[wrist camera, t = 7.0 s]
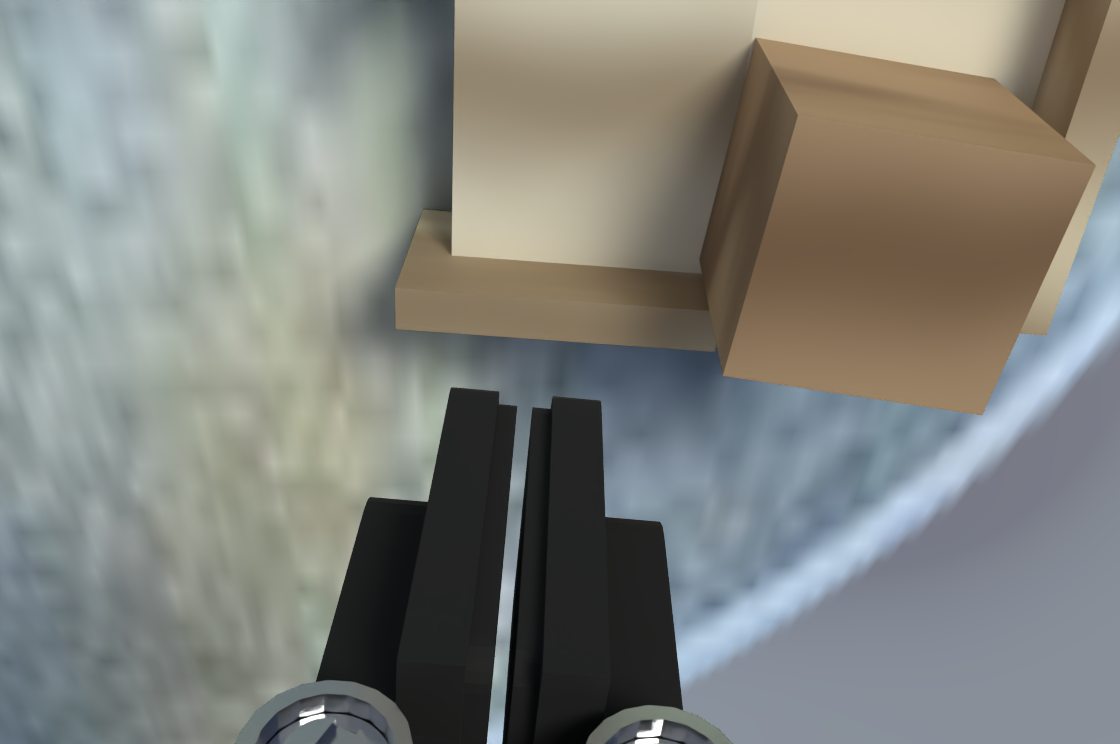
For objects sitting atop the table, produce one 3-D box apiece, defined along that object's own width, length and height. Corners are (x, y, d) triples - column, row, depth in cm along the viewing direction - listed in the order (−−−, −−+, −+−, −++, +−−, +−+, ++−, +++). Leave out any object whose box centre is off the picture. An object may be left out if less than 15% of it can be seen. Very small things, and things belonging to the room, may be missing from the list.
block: (911, 293, 24) (982, 414, 19) (699, 259, 23) (722, 375, 19) (994, 78, 21) (1096, 165, 17) (755, 37, 21) (797, 114, 16)
